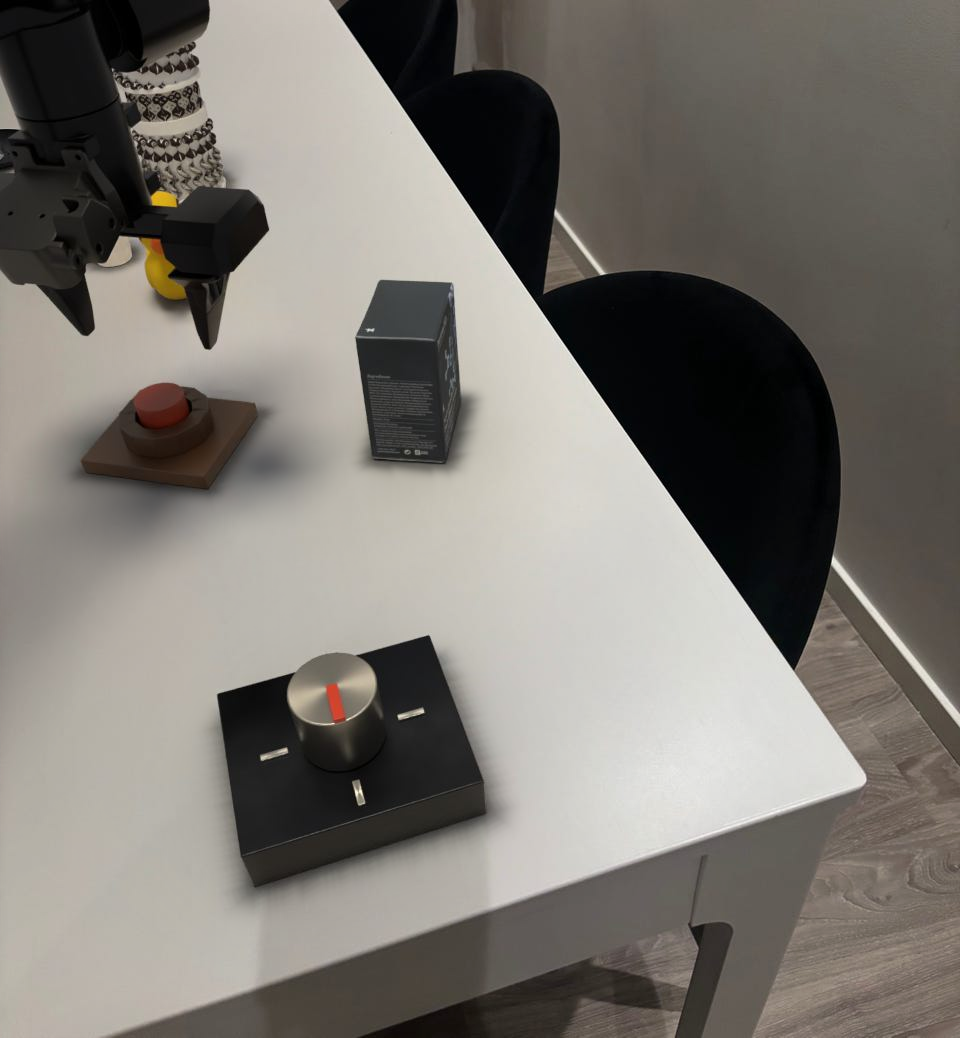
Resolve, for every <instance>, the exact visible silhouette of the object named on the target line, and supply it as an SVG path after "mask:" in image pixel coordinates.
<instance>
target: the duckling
mask: <svg viewBox="0 0 960 1038" xmlns="http://www.w3.org/2000/svg"><path fill="white" fill-rule="evenodd" d="M151 199H152V205H156V206H170V207H177V206H178V205H179V204H180V201H179V200H178V199H177V198H176V197H175V196H173V195H172V194H170V193H167V192H163V191H157V192H156V193H154V194H153V195H152V196H151ZM138 240H139V241H140V243H141V244H142V246H144V247H145V255H146V259H145V261H144V272H145V273H144V274H145V276H146V280H147V282H148V284H149V285H150V287H151V288H152V289H154V290H156V291H157V292H158V293H159V294H160V295H161V296H163V297H164V298H167V299H169V300H183V299H187V297H186V294H185V290H184V288H183V287H182V286H181V285H179V284H178V283H176V282H174V281H172V280H171V279H169V278H168V274H169V273H170V272H171V271H172V270H173V269H174V268H175V266H173V265H172V264H171V263H170V262H169V261H167V260H166V259H165V256H164V253H163V250H162V246H161V243H160V240H159V239H147V238H138Z"/></svg>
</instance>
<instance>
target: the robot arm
mask: <svg viewBox="0 0 960 1038" xmlns="http://www.w3.org/2000/svg"><path fill="white" fill-rule="evenodd" d="M210 5H211V4H210V0H0V79H1V82H2V84H3V87H4V89H5V92H6V94H7V98H8V100H9V102H10V106H11V108H12V110H13V113H14V116H15V118H16V121H17V123H18V126H19V130H17V131H16V132H15V133H13V134H12V135H10V136H9V137H7V141H8V145H9V148H8V154H9V156H10V160H11V162H12V166H13V172H6V171H5V172H1V171H0V272H1V273H2V274H3V275H4V276H5V278H6V279H7V280H8V281H9V282H10V283H11V284H13V285H17V286H25V285H27V284H29V285H35V286H36V287H37V288H38V289H39V290H40V291H41V292H42V293H43V294H44V295H45V296H46V297H47V298H48V299H49V301H50V302H51V303H52V304H53V305H54V306H55V307H56V308H57V310H58V311H59V312H60V313H61V315H63V316H64V317H65V319H66V320H67V321H68V322H69V323H70V324H71V326H72V327H74V328H75V329H76V331H77V332H78V333H79V334H80V335H82V336H83V337H89V336H90V335H91V334H93V332H94V331H95V329H96V324H95V323H96V322H95V316H94V309H93V308H94V307H93V303H92V299H91V295H90V291H89V286H88V283H87V278H86V272H87V265H88V264H98V263H100V264H102V263H106V262H107V260H108V259H109V257H110V254H111V252H112V250H113V248H114V246H115V244H116V242H117V240H118V238H119V236H123V237H129V238H135V239H136V238H138V239H139V238H147V239H159V240H160V243H161V246H162V250H163V253H164V256H165V259H166V260H167V261H169V262H170V263H171V264H172V265H173V266H175V268H174V269H173V270H172V271H171V272H170V273H169V274H168V278H169V279H171V280H172V281H174V282H176V283H178V284H179V285H181V286H182V287H183V288H184V290H185V294H186V297H187V298H186V300H187V303H188V307H189V310H190V313H191V316H192V321H193V324H194V327H195V331H196V333H197V336H198V338H199V340H200V342H201V345H202V347H203V349H204V350H208V351H211V350H212V349H213V348H214V346H215V345H216V344H217V342H218V339H219V338H218V337H219V333H220V327H221V321H222V315H223V310H224V305H225V299H226V294H227V289H228V284H229V280H230V275H231V273H233V272H235V270H237V269H238V267H239V266H240V265H241V263H243V261H244V260H245V259H246V258H247V257H248V256H249V254H250V253H251V252H252V251H253V250H254V249H255V247H256V246H257V245H258V244H259V243H260V242H261V241H262V240H263V238H265V236H266V235H267V234H268V233H269V231H270V227H269V222H268V218H267V214H266V208H265V205H264V203H263V202H262V200H261V199H260V198H259V196H258V195H256V193H254V192H253V191H251V190H250V189H248V188H247V189H246V188H231V187H226V188H219V187H205V186H198V187H197V188H196V189H195V190H194V191H193V192H192V193H191V194H190V195H189V196H188V197H187V198H185V199H184V200H183V201H182V202H181V203H180V204H179V205H178V206H177V207H170V206H156V205H152V199H151V196H152V195H153V194H154V193H156V192H157V191H158V190H159V189H160V188H161V184H160V181H159V177H158V174H157V171H143V169H142V166H141V160H140V159H141V158H140V157H139V156H140V155H138V153H137V148H136V146H137V145H136V142H135V141H134V140H133V136H132V135H133V134H132V129H133V127H134V126H135V125H136V124H137V123H139V122H140V121H141V116H140V113H139V110H138V106H137V103H130V102H127V101H124V102H123V101H122V98H121V94H120V91H119V87H118V86H117V81H116V80H115V76H114V74H113V70H117V71H119V72H123V73H129V72H135V71H137V70H139V69H141V68H143V67H145V66H147V65H149V64H151V63H152V62H154V61H156V60H158V59H160V58H162V57H164V56H166V55H168V54H170V53H172V52H174V51H176V50H178V49H180V48H182V47H184V46H186V45H188V44H189V43H191V42H193V41H194V42H195V41H197V40H199V39H200V38H201V37H202V36H203V35H204V34H205V32H206V30H207V29H208V25H209V22H210V18H211V17H210V14H211V6H210Z"/></svg>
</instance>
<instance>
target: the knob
mask: <svg viewBox="0 0 960 1038" xmlns="http://www.w3.org/2000/svg"><path fill="white" fill-rule="evenodd" d="M355 655H356V654H355ZM355 655H354V654H351V653H347V652H330V653H324V654H322V655H318V656H316V657H314V658H313V657H312V658H311V659H310V660H308V661H306V662H305V663H303V664H302V665H301V666H300V667H299V668H298V669H297V670H296V671H294V672H295V674H294V675H293V677H292V679H291V680H290V683H289V685H288V689H287V701H288V704H289V708H290V711H291V714H292V717H293V721H294V724H295V727H296V730H297V734H298V737H299V740H300V743H301V747H302V750H303V752H304V754H305V756H306V757H307V758H308V759H309V761H310V762H312V763H313V764H314V765H316V766H318V767H320V768H322V769H325V770H329V771H347V770H351V769H354V768H357V767H360V766H362V765H364V764H365V763H367V762H368V761H369V760H371V759H372V758H373V757H374V756H375V755H376V754H377V753H378V751H379V750H380V748H381V747H382V745H383V743H384V740H385V736H386V724H385V719H384V714H383V709H382V704H381V699H380V694H379V689H378V684H377V679H376V675H375V672H374V671H373V669H372V667H371V666H370V665H369V664H368V663H367V662H366V661H364V660H363V659H361V658H359V657H357V656H355Z"/></svg>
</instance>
